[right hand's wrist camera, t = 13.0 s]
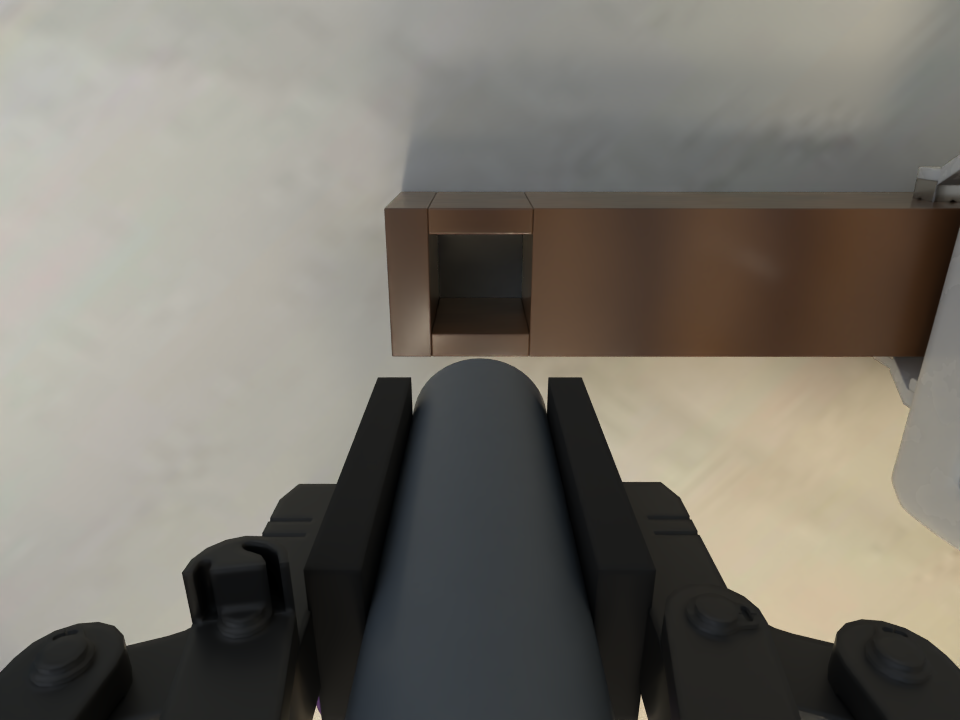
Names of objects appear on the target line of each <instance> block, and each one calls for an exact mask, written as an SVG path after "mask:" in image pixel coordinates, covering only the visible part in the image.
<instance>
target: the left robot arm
mask: <svg viewBox="0 0 960 720" xmlns="http://www.w3.org/2000/svg"><path fill="white" fill-rule="evenodd" d="M913 198H914V199H922V200H924V201H929V202H950V201H952V202H960V154H959V155H958V156H956V157H955V158H954V159H952V160H951V161H949V162H948V163H946V164H945V165H944V166H942V167H919V169H918V174H917V180H916V184H915V189H914V194H913ZM874 359H875V360H877V361H879V362H880V363H882V364H883V365H885V366H887V367H888V368H890V373H891V375H892V378H893V380H894V382H895V385H896V387H897V390H898V392H899V394H900V397H901V399H902V402H903V404H905V405H906V406H907V407H909V408H910V411H909V415H908V418H907V422H906V426H905V429H904V433H903V437H902V440H901V444H900V448H899V451H898V455H897V458H896V462H895V465H894V469H893V473H892V484H893V487H894V490H895V493H896V496H897V498H898V501H899V503H900V505H901V506H902V508H903V509H904V510H905V511H906V512H908V513H909V514H910V515H911V516H912V517H913V518H915V519H916V520H917V521H918V522H920V523H921V524H922V525H924V526H925V527H926V528H928V529H929V530H930V531H932V532H933V533H934V534H936V535H937V536H938V537H940V538H941V539H943V540H944V541H945V542H947V543H948V544H950V545H951V546H953V547H954V548H956V549H957V550H959V551H960V228H959V231H958V235H957V239H956V242H955V246H954V250H953V253H952V257H951V261H950V264H949V268H948V272H947V275H946V279H945V283H944V286H943V290H942V294H941V297H940V301H939V305H938V308H937V312H936V316H935V319H934V323H933V327H932V330H931V334H930V338H929V341H928V345H927V349H926V352H925V356H924V357H874Z"/></svg>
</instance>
